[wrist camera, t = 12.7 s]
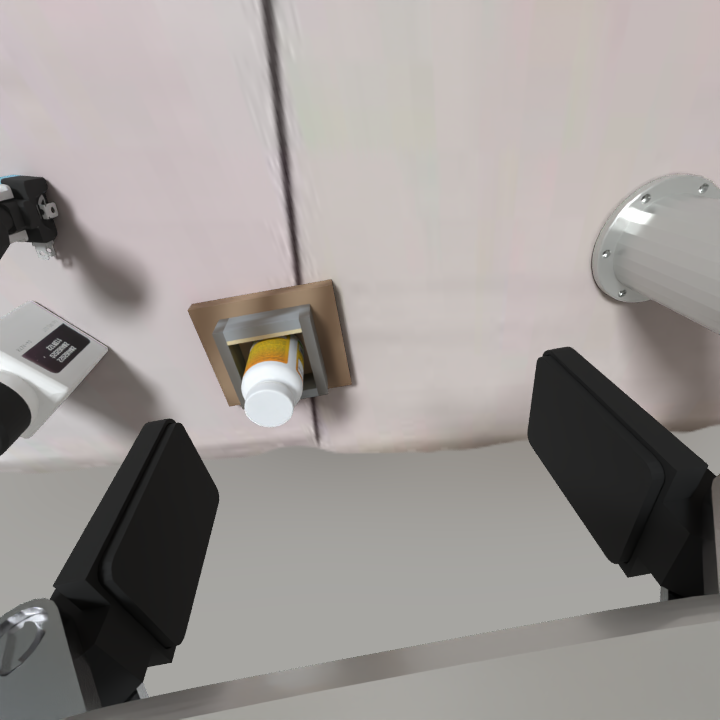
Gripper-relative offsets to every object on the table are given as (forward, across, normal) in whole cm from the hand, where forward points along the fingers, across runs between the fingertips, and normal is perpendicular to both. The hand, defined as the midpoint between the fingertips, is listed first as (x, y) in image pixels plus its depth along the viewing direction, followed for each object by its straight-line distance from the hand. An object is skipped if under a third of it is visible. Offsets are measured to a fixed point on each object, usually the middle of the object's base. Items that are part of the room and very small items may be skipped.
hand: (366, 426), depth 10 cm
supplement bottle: (+27, +8, +12) cm, 31 cm away
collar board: (+28, +8, +12) cm, 32 cm away
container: (+28, +30, +8) cm, 42 cm away
